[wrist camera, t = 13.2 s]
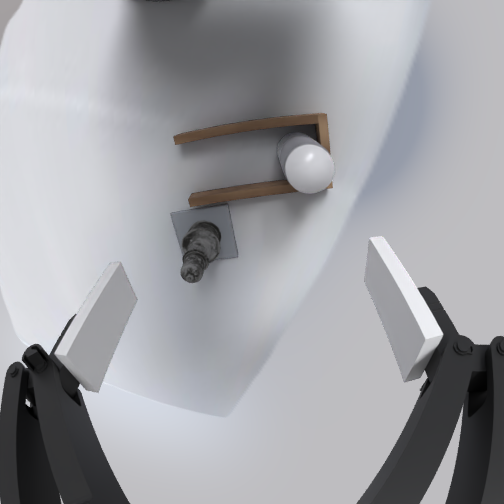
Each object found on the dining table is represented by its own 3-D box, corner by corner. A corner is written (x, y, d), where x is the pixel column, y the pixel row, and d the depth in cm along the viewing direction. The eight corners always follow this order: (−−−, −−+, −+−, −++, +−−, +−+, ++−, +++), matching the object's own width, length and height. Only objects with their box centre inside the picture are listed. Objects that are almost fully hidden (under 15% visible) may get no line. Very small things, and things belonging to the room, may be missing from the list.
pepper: (274, 134, 36) (280, 146, 26) (314, 130, 35) (334, 141, 26) (279, 172, 39) (286, 198, 29) (318, 168, 38) (338, 192, 29)
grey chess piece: (227, 248, 45) (218, 297, 34) (192, 254, 45) (174, 302, 35) (218, 215, 42) (204, 257, 31) (181, 222, 42) (158, 265, 32)
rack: (178, 134, 36) (173, 136, 34) (322, 113, 34) (326, 114, 32) (193, 200, 41) (190, 206, 39) (328, 182, 39) (332, 188, 37)
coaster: (171, 212, 42) (170, 214, 42) (227, 203, 41) (227, 205, 41) (186, 261, 47) (185, 263, 46) (238, 255, 46) (238, 256, 45)
